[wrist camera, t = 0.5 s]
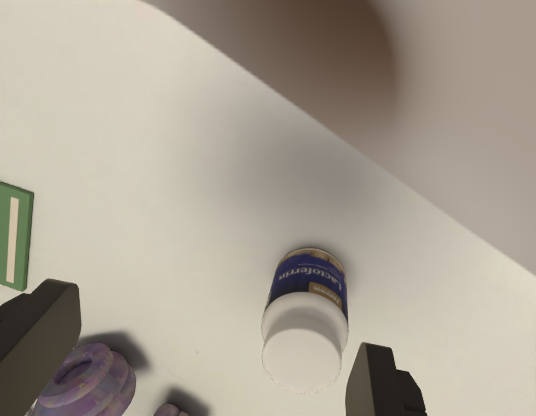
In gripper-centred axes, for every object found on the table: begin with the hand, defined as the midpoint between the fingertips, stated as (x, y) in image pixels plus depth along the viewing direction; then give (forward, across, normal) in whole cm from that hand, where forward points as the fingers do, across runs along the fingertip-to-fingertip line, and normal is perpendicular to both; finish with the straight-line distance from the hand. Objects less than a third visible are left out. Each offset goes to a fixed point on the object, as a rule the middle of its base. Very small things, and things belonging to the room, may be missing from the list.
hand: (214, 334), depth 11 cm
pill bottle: (+19, -4, +11) cm, 22 cm away
